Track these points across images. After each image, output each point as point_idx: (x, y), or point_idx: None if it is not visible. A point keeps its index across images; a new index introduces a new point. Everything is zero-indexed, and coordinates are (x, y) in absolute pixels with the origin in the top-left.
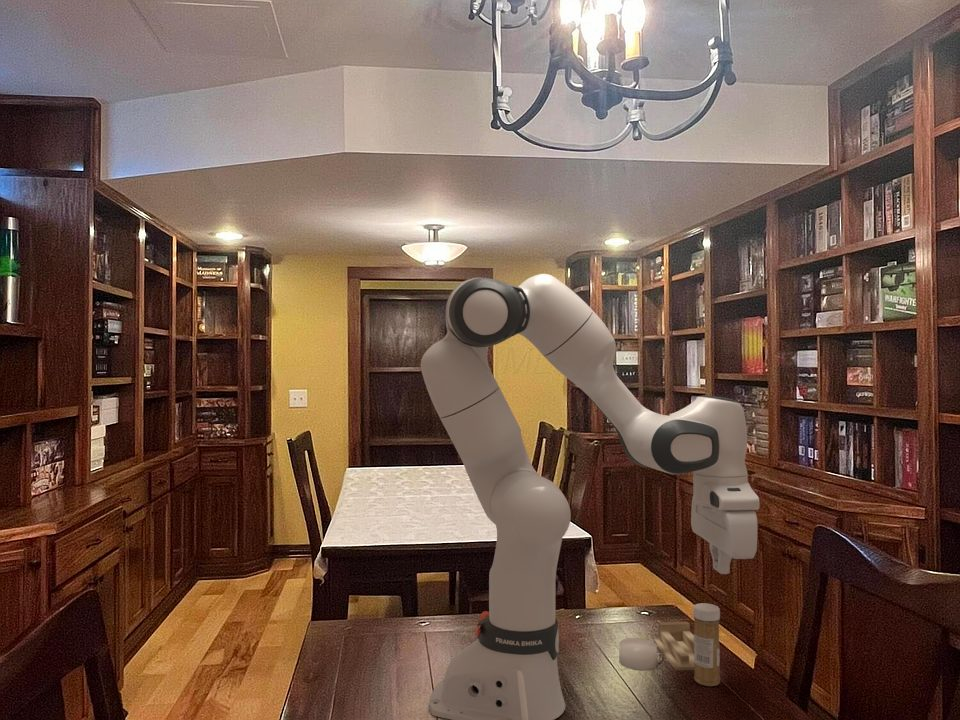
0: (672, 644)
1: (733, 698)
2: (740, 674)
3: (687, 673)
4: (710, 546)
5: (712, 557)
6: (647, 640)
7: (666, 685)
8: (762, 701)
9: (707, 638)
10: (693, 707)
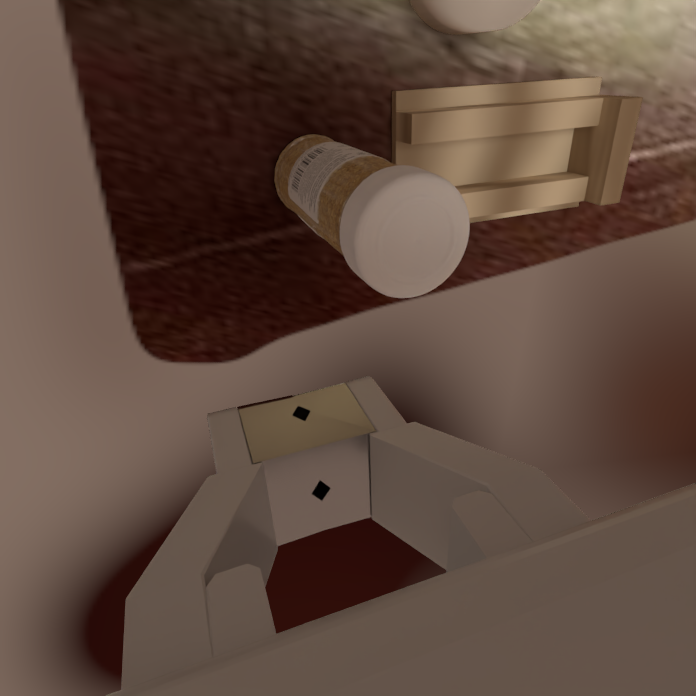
0: (505, 110)
1: (200, 227)
2: (360, 285)
3: (370, 126)
4: (528, 495)
5: (419, 430)
6: (529, 4)
7: (277, 14)
8: (192, 304)
9: (320, 200)
10: (105, 67)
